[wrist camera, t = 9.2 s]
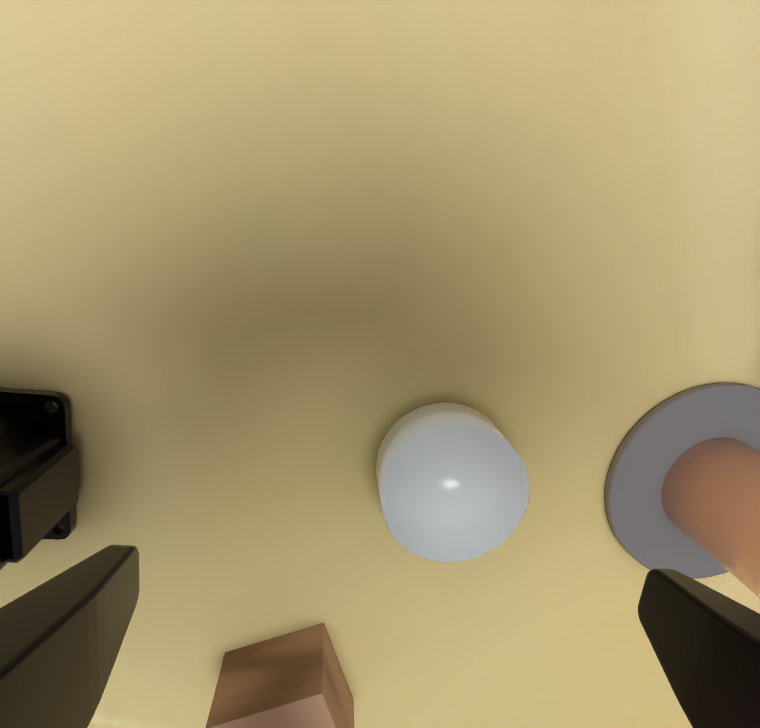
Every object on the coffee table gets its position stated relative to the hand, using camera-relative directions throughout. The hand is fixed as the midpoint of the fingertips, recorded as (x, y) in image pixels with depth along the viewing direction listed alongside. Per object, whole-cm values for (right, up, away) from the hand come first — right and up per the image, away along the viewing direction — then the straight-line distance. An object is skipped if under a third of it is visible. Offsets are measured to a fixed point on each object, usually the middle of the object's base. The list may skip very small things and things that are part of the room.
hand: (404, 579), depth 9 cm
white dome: (+2, -1, +14) cm, 14 cm away
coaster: (+15, -2, +15) cm, 22 cm away
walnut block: (-5, -12, +16) cm, 21 cm away
